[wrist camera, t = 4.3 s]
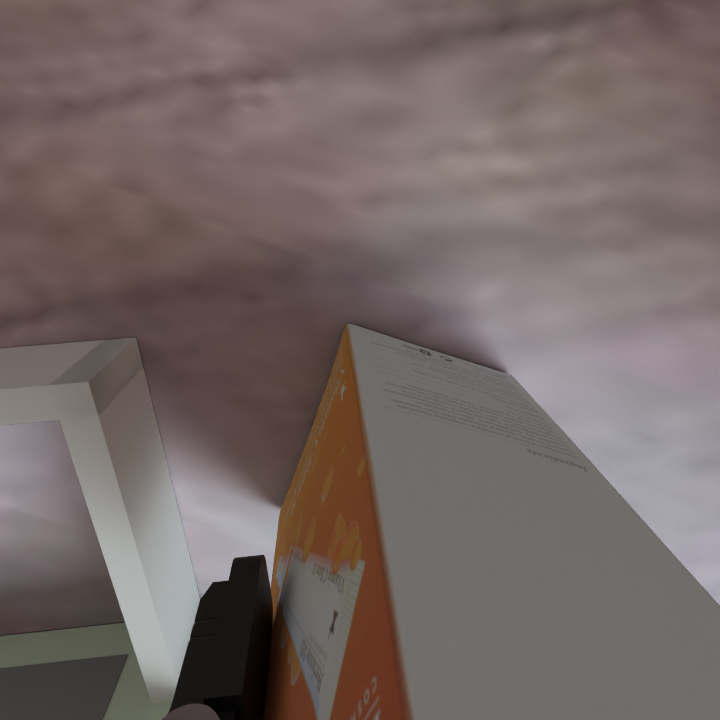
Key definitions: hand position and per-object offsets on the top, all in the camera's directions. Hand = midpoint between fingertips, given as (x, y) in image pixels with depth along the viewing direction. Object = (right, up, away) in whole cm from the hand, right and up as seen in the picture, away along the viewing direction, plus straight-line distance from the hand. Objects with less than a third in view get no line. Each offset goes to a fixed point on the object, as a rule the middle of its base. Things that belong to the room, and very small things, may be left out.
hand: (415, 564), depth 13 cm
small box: (0, +2, +5) cm, 6 cm away
